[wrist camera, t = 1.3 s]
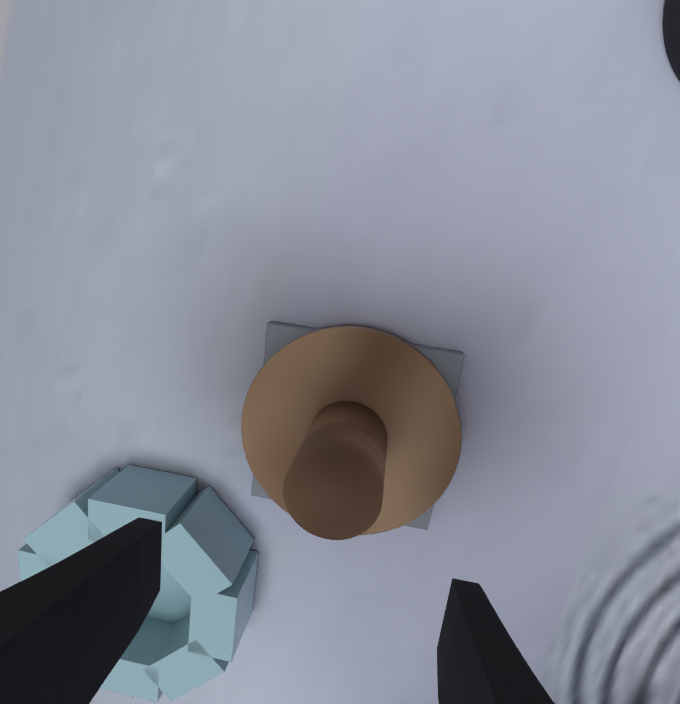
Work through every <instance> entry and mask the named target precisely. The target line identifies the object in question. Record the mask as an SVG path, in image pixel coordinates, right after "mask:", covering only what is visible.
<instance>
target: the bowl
mask: <svg viewBox="0 0 680 704" xmlns="http://www.w3.org/2000/svg"><path fill="white" fill-rule="evenodd" d="M196 485H197V478H194V477H189V476H184V475H179V474H174V473H169V472H164V471H159V470H153V469H148V468H143V467H138V466H133V465H128V466H127V467H125V468H124V469H123V470H122V471H121V472H120V471H119V470H118V469H117V467H116V468H114V469H113V470H112V471H110V472H109V473H108V474H106V475H105V476H104V477H102V478H101V479H100V480H98V481H97V482H96V483H94V484H93V485H92V486H90V487H89V488H88V489H86V490H85V491H84V492H82V493H81V494H80V495H78V496H77V497H76V498H74V499H73V500H72V501H70V502H69V503H68V504H67V505H65V506H64V507H63V508H62V509H60V510H59V511H58V512H57V513H55V514H54V515H53V516H52V517H50V518H49V519H48V520H47V521H45V522H44V523H43V524H42V525H40V526H39V527H38V528H37V529H35V530H34V531H33V532H32V533H30V534H29V535H28V536H27V537H25V538H24V539H23V540H24V541H25V542H26V543H27V544H25V545H24V546H23V547H22V548H21V549H19V550H18V554H19V573H20V582H21V581H23V580H25V579H27V578H29V577H31V576H33V575H35V574H37V573H38V572H40V571H42V570H44V569H46V568H48V567H50V566H52V565H54V564H56V563H58V562H60V561H62V560H63V559H65V558H67V557H69V556H71V555H72V554H74V553H76V552H78V551H80V550H81V549H83V548H85V547H87V546H89V545H90V544H92V543H94V542H96V541H97V540H99V539H101V538H103V537H104V536H106V535H108V534H110V533H111V532H113V531H115V530H117V529H118V528H120V527H122V526H124V525H126V524H127V523H129V522H131V521H133V520H135V519H137V518H139V517H140V518H145V519H151V520H156V521H161V522H162V546H161V583H160V592H159V593H158V595H157V597H156V599H155V601H154V603H153V605H152V607H151V609H150V611H149V613H148V615H147V616H146V618H145V620H144V622H143V624H142V626H141V627H140V629H139V631H138V633H137V634H136V636H135V637H134V639H133V640H132V642H131V643H130V644H129V646H128V647H127V649H126V650H125V652H124V653H123V655H122V656H121V658H120V659H119V661H118V662H117V664H116V665H115V667H114V668H113V669H112V671H111V672H110V674H109V675H108V677H107V678H106V680H105V681H104V682H103V684H102V685H101V687H100V688H102V689H106V690H110V691H114V692H118V693H122V694H126V695H130V696H134V697H138V698H143V699H147V700H151V701H155V702H158V700H159V699H160V697H161V695H162V693H164V694H165V695H166V696H167V697H168V698H169V700H170V701H172V700H174V699H175V698H177V697H179V696H181V695H183V694H185V693H187V692H188V691H190V690H192V689H194V688H196V687H198V686H200V685H201V684H203V683H205V682H207V681H209V680H211V679H213V678H214V677H216V676H218V675H220V674H222V673H224V672H225V670H226V667H227V665H228V662H232V659H233V657H234V654H235V652H236V649H237V647H238V644H239V642H240V639H241V637H242V634H243V632H244V629H245V627H246V624H247V622H248V619H249V617H250V615H251V612H252V610H253V601H254V591H255V581H256V572H257V562H258V553H259V552H257V551H253V550H250V548H251V545H252V543H253V541H254V538H253V537H252V536H251V535H250V533H249V532H248V531H247V530H246V529H245V527H244V526H243V525H242V524H241V523H240V521H239V520H238V519H237V518H236V517H235V516H234V514H233V513H232V512H231V511H230V510H229V508H228V507H227V506H226V505H225V504H224V502H223V501H222V500H221V499H220V498H219V496H218V495H217V494H216V493H215V492H214V490H213V489H212V488H211V487H210V486H208V487H207V488H205V489H204V490H202V491H201V492H199V493H198V494H196Z"/></svg>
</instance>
